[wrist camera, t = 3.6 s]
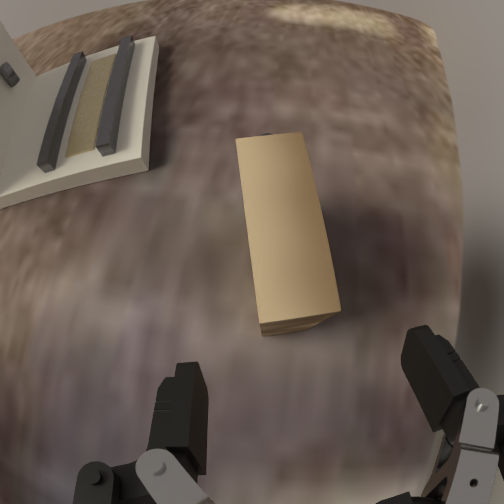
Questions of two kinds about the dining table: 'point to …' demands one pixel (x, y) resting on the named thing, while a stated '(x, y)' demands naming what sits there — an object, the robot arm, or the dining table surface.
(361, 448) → the dining table surface
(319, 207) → the wooden block
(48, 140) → the l-shaped angle bracket
